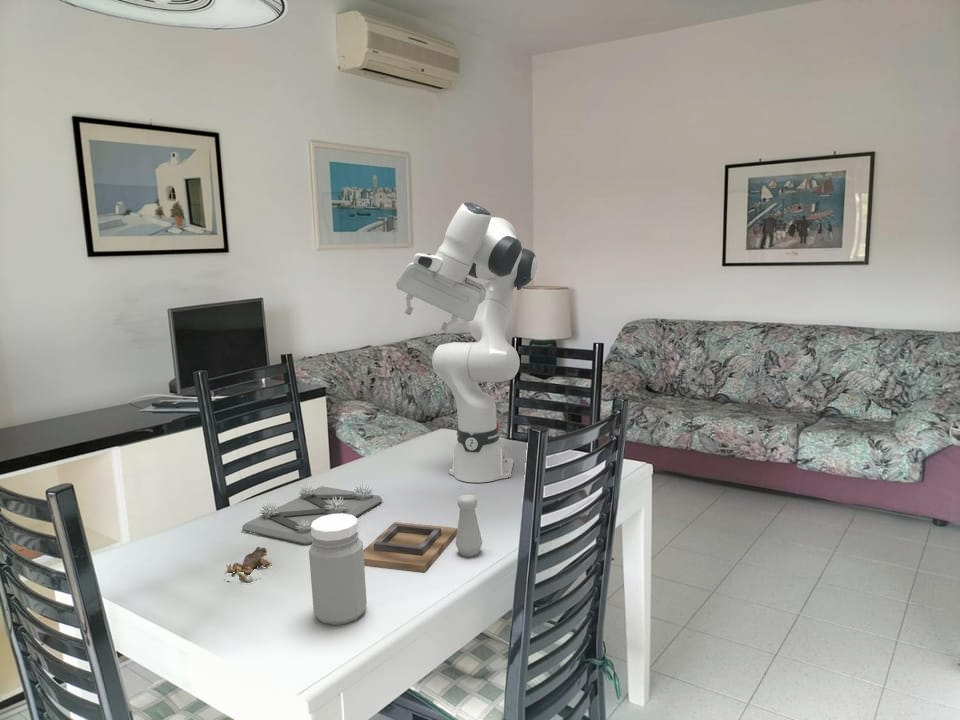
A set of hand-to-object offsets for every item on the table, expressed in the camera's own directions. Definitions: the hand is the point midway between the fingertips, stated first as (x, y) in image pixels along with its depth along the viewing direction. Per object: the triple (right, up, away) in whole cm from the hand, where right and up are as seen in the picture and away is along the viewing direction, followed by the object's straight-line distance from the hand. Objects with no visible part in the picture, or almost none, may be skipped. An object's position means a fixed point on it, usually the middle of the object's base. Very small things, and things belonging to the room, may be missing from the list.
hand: (425, 322), depth 169 cm
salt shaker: (+11, -52, -14) cm, 55 cm away
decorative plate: (-29, -49, +10) cm, 58 cm away
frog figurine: (-36, -54, -19) cm, 68 cm away
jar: (-13, -56, -38) cm, 69 cm away
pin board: (-3, -51, -11) cm, 53 cm away
